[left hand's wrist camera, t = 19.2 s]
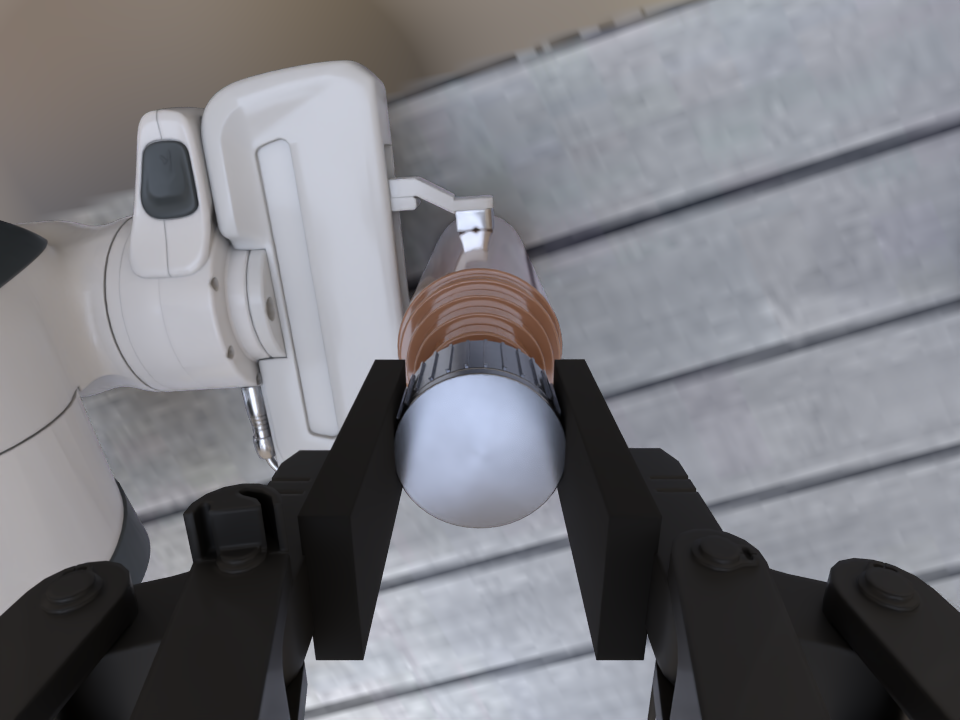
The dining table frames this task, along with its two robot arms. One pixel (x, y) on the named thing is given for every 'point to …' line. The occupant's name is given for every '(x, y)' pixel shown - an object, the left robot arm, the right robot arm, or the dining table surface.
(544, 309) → the bottle
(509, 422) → the cap
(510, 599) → the dining table surface
